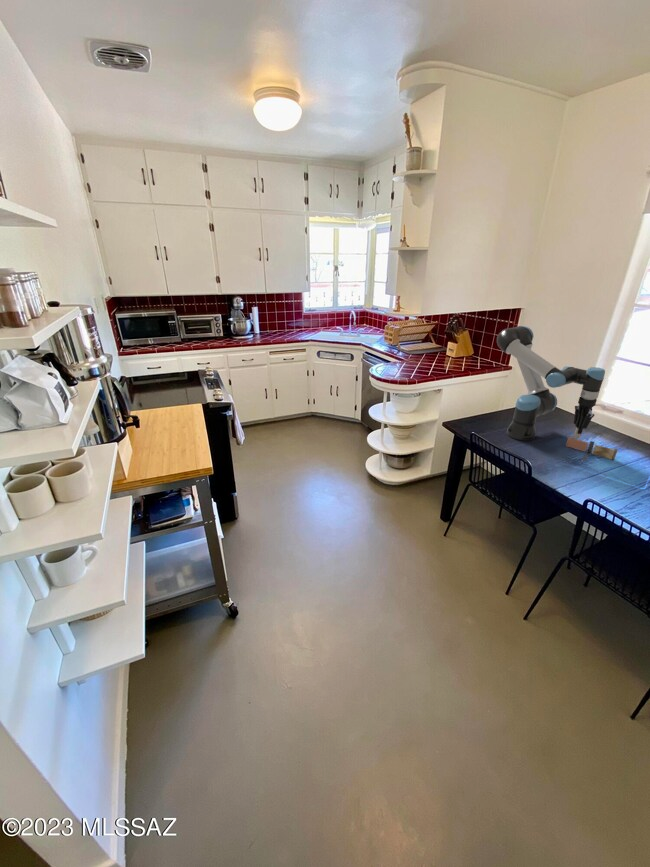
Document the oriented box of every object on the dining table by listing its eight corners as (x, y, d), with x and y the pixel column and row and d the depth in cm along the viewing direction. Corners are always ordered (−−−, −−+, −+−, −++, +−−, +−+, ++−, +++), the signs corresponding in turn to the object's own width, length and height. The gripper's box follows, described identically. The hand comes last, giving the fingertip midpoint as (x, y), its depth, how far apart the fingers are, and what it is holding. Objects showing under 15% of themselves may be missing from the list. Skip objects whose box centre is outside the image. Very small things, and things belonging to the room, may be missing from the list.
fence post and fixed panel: (586, 452, 190) (589, 442, 187) (587, 451, 191) (590, 440, 188) (613, 460, 182) (617, 449, 179) (614, 459, 183) (618, 448, 180)
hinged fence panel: (585, 451, 191) (589, 441, 189) (585, 452, 191) (588, 442, 188) (565, 445, 198) (568, 436, 195) (565, 446, 197) (568, 437, 194)
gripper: (573, 393, 193) (562, 432, 203) (588, 402, 181) (576, 443, 192) (587, 393, 193) (576, 432, 203) (604, 401, 181) (590, 443, 191)
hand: (576, 437), depth 197 cm, fingers closed
